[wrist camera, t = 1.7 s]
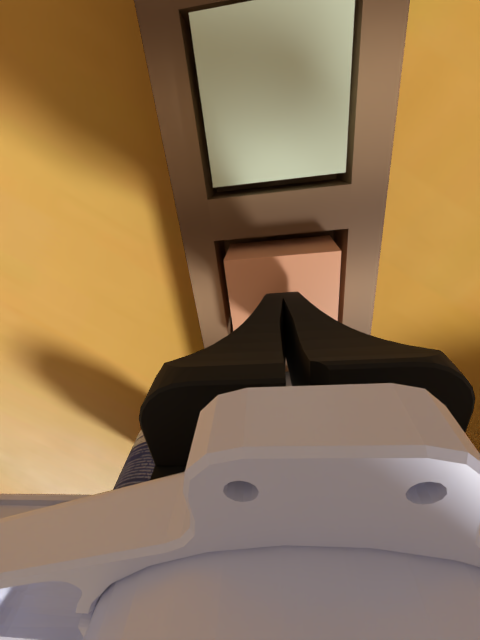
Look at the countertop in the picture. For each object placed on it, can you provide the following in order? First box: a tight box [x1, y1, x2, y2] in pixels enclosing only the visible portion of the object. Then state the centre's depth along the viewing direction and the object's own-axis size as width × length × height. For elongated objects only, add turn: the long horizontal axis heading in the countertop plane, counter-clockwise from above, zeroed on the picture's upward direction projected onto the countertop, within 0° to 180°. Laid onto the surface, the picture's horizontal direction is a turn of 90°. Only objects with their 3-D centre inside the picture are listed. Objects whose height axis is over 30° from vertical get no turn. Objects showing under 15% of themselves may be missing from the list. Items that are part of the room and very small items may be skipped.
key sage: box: [189, 0, 355, 188], centre depth 10 cm, size 4×4×2 cm
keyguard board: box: [134, 0, 410, 372], centre depth 13 cm, size 29×8×3 cm, turn 6°
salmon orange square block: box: [224, 235, 341, 331], centre depth 13 cm, size 4×4×2 cm
